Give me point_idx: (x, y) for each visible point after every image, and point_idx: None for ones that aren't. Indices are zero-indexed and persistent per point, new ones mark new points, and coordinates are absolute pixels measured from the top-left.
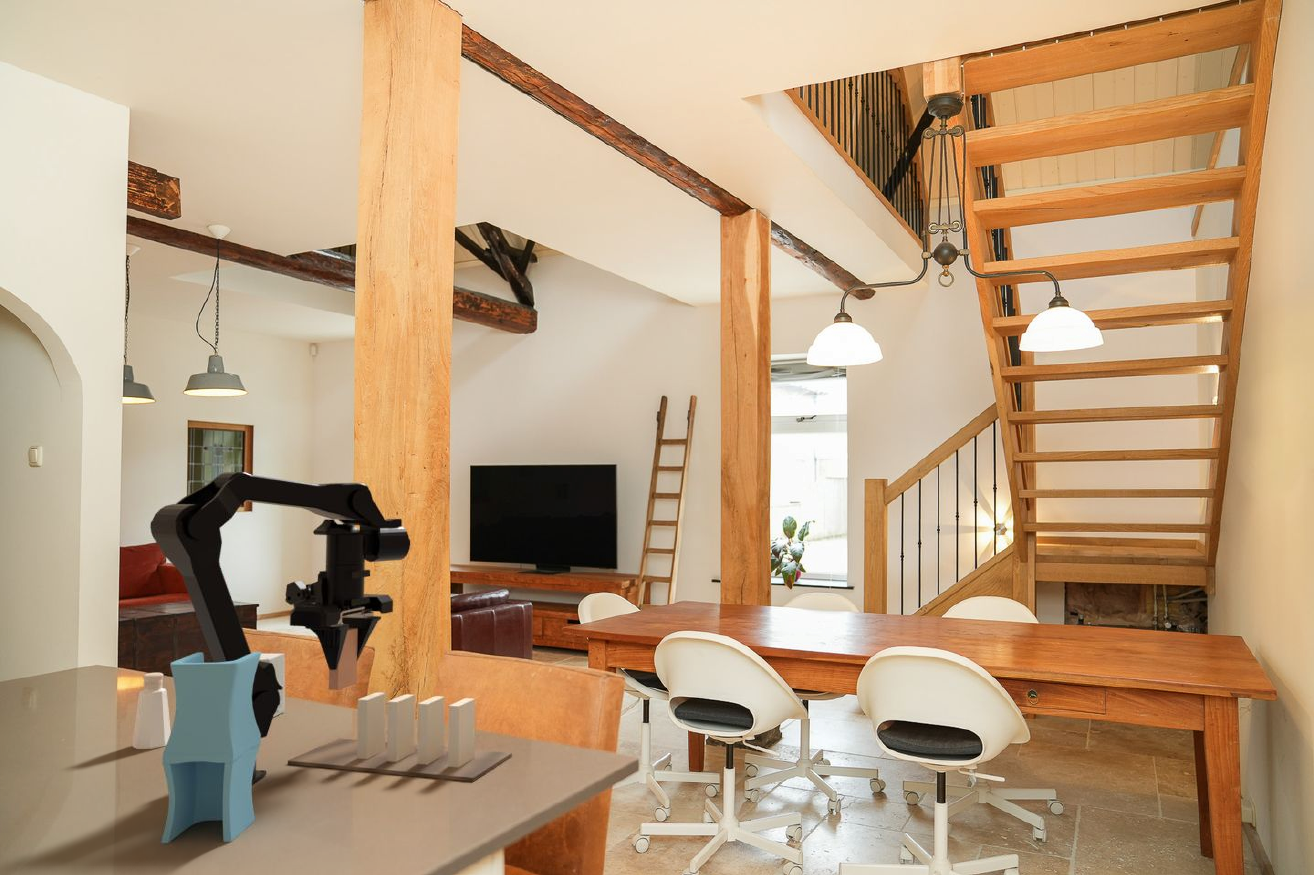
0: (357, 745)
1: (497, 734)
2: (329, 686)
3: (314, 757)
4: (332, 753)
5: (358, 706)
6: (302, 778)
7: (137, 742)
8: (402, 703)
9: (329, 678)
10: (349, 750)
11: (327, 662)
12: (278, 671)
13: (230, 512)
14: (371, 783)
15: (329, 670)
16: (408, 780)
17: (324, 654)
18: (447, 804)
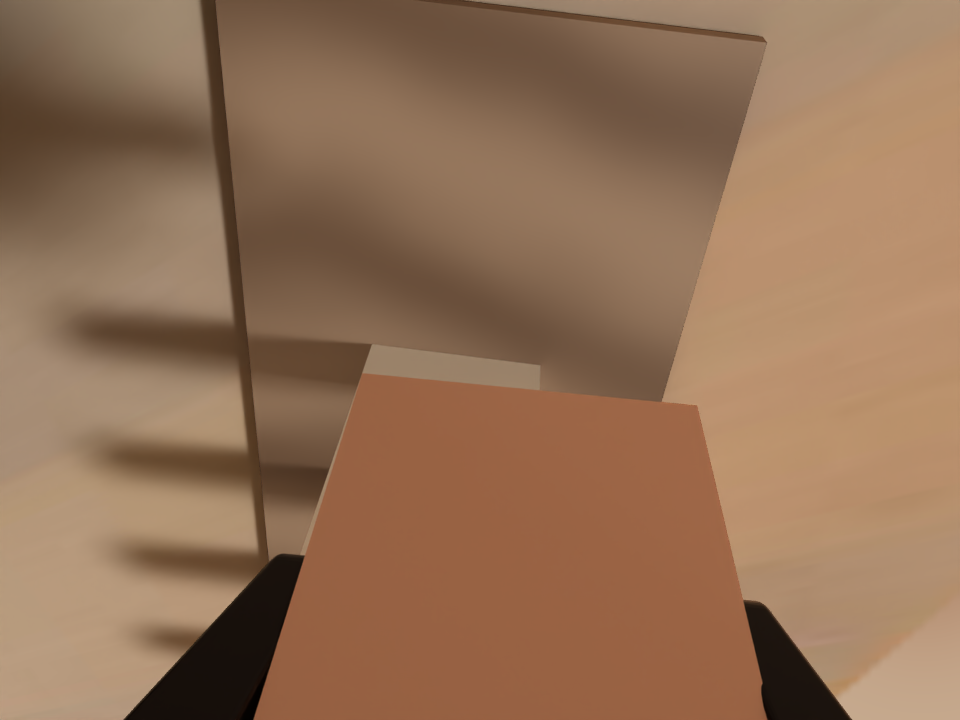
0: (358, 384)
1: (855, 678)
2: (357, 399)
3: (322, 117)
4: (419, 183)
5: (303, 553)
6: (65, 207)
7: None
8: None
9: (340, 455)
10: (494, 247)
11: (215, 624)
12: None
13: None
14: (149, 487)
15: (319, 523)
16: (229, 574)
17: (132, 714)
18: (97, 696)
